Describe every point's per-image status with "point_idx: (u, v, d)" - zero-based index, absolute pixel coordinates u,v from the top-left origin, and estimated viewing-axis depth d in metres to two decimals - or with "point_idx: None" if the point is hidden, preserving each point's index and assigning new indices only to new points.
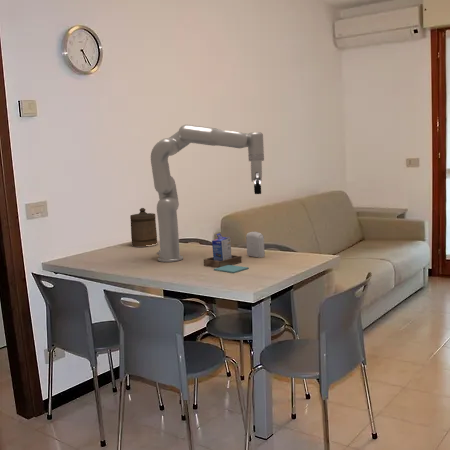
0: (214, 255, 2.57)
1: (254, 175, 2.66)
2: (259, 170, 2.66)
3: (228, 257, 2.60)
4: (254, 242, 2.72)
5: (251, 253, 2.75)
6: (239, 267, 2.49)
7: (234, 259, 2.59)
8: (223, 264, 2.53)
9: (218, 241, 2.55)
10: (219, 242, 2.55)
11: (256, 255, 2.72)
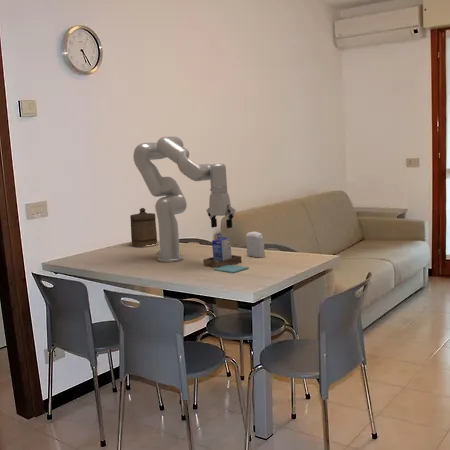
0: (214, 255, 2.57)
1: (226, 208, 2.53)
2: (229, 203, 2.55)
3: (228, 257, 2.60)
4: (254, 242, 2.72)
5: (251, 253, 2.75)
6: (239, 267, 2.49)
7: (234, 259, 2.59)
8: (223, 264, 2.53)
9: (218, 241, 2.55)
10: (219, 242, 2.55)
11: (256, 255, 2.72)
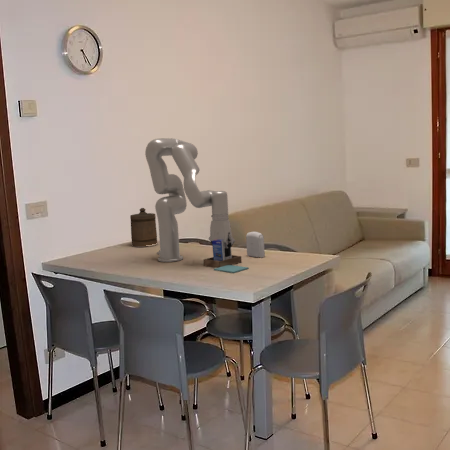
0: (214, 255, 2.57)
1: (227, 236, 2.55)
2: (230, 230, 2.56)
3: (228, 257, 2.60)
4: (254, 242, 2.72)
5: (251, 253, 2.75)
6: (239, 267, 2.49)
7: (234, 259, 2.59)
8: (223, 264, 2.53)
9: (218, 241, 2.55)
10: (219, 242, 2.54)
11: (256, 255, 2.72)
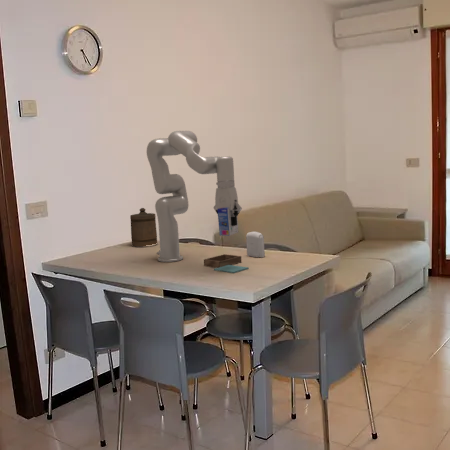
0: (219, 224, 2.43)
1: (233, 203, 2.41)
2: (236, 197, 2.43)
3: (234, 227, 2.47)
4: (254, 242, 2.72)
5: (251, 253, 2.75)
6: (239, 267, 2.49)
7: (234, 259, 2.59)
8: (223, 264, 2.53)
9: (224, 209, 2.41)
10: (225, 210, 2.41)
11: (256, 255, 2.72)
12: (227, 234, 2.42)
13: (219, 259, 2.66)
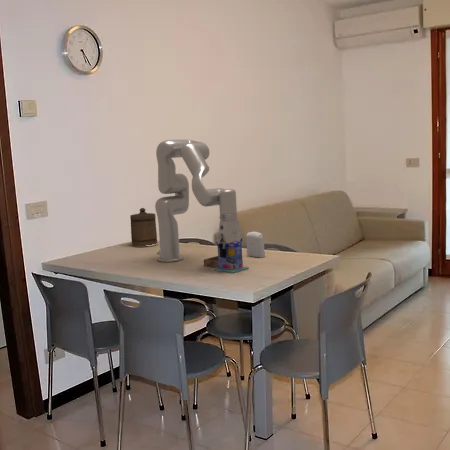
0: (237, 258, 2.43)
1: None
2: None
3: None
4: (254, 242, 2.72)
5: (251, 253, 2.75)
6: None
7: None
8: None
9: (239, 242, 2.45)
10: (240, 243, 2.45)
11: (256, 255, 2.72)
12: (242, 266, 2.47)
13: None
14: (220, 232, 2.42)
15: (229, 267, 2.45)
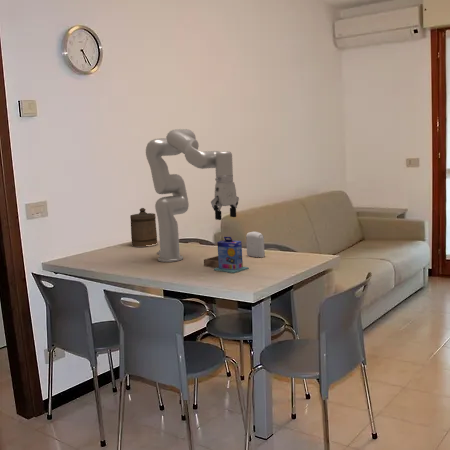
0: (237, 258, 2.43)
1: None
2: None
3: None
4: (254, 242, 2.72)
5: (251, 253, 2.75)
6: None
7: None
8: None
9: (239, 242, 2.45)
10: (240, 243, 2.45)
11: (256, 255, 2.72)
12: (242, 266, 2.47)
13: None
14: (216, 194, 2.42)
15: (229, 267, 2.45)
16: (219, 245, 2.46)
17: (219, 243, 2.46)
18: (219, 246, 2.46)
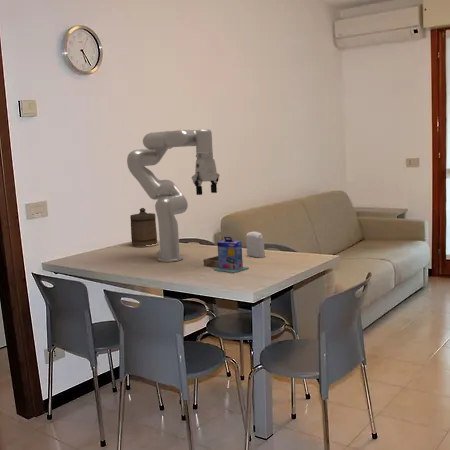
0: (237, 258, 2.43)
1: None
2: None
3: None
4: (254, 242, 2.72)
5: (251, 253, 2.75)
6: None
7: None
8: None
9: (239, 242, 2.45)
10: (240, 243, 2.45)
11: (256, 255, 2.72)
12: (242, 266, 2.47)
13: None
14: (197, 170, 2.53)
15: (229, 267, 2.45)
16: (219, 245, 2.46)
17: (219, 243, 2.46)
18: (219, 246, 2.46)
